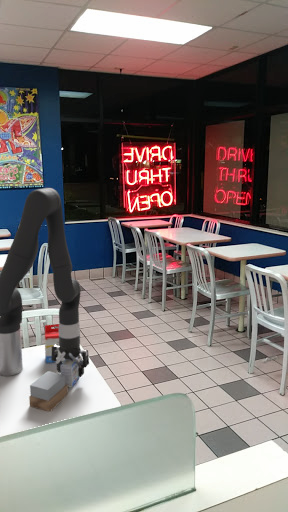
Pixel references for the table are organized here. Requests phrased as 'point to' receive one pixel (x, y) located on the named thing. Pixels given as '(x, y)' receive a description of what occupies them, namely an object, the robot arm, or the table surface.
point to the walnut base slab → (52, 402)
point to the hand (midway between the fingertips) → (70, 373)
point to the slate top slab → (47, 385)
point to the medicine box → (70, 372)
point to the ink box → (51, 341)
